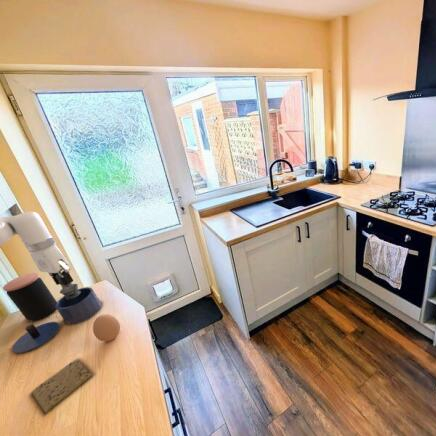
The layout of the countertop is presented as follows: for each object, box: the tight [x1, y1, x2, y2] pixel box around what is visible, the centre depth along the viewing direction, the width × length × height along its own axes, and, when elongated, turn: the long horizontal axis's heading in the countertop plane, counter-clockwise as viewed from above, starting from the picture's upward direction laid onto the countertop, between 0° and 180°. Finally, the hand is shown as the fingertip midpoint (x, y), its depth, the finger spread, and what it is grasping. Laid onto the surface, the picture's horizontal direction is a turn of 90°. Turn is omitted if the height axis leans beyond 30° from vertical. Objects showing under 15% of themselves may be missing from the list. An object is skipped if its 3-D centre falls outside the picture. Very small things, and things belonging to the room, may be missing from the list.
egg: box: [92, 313, 121, 342], centre depth 90 cm, size 8×8×11 cm
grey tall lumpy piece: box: [56, 274, 81, 300], centre depth 100 cm, size 6×6×12 cm
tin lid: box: [12, 321, 61, 354], centre depth 95 cm, size 14×14×6 cm
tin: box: [55, 286, 102, 325], centre depth 105 cm, size 13×13×8 cm
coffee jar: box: [2, 272, 58, 322], centre depth 105 cm, size 11×11×18 cm
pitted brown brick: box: [31, 359, 92, 414], centre depth 77 cm, size 12×12×1 cm
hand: (65, 282), depth 99 cm, fingers closed on grey tall lumpy piece, 3 cm apart
